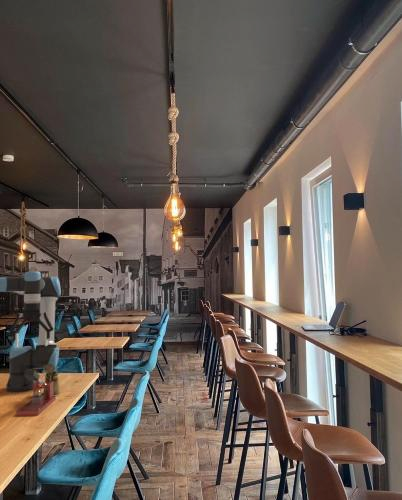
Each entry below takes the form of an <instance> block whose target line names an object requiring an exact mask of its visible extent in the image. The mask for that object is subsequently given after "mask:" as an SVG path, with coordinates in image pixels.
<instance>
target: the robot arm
mask: <svg viewBox="0 0 402 500" xmlns="http://www.w3.org/2000/svg"><path fill="white" fill-rule="evenodd" d="M41 275H42V274H41V272H40V271H36V270H35V271H33V270H32V271H31V270H30V271H26V272H25V273H24V276H2V277H1V276H0V293H1V292H3V293H9V292H10V293H17V295H18V294H19V295H21V296H23V302H24V304H23V313H21V312H18V313H16V316H15V319H14V321H13V323H12V325H11V327H10V329H9V331H8V333H11V334H13V335H12V337H13V338H12V339H13V341H15V347H14V348H13V349H11V350H10V353H9V358H8V359H9V377H8V380H7V382H6V386H5V391H7V392H9V393H10V392H13V393H14V392H15V393H16V392H17V393H18V392H23V391H29V390H32V389H33V384H34V383H35V382H34V381H30V380H28V379H27V378H26V377H25V376H24V373H25V370H40V369H41V370H42V369H43V370H44V368H43V367H44V366H45V365H46V364H48V363H49V364H52V365H54V366H55V368H56V367H57V364H58V361H59V356H60V347H57V346H58V345H57V343H56V342H55V327H56V326H55V325H56V324H55V323H56V322H55V321H56V320H55V319H56V301H58V299H59V297H60V296H61V295H62V290H61V283H60V280H59V277H57V276H41ZM22 317H23V318H24V319H23V320H22V321H21V323H20V324H19V323H18V322H19V321H20V319H21V318H22ZM31 322H33V323H35V322H37V323H38V324H39V325H38V327H39V329H38V342H37V343H36V344H35V348H32V346H31V345H26V346H20V347H19V333H18V332H19V331H20V330H21V328H22V327H23V326H24V325H25V324H26V323H31ZM16 326H17V327H16Z"/></svg>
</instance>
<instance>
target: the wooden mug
mask: <svg viewBox="0 0 402 500" xmlns="http://www.w3.org/2000/svg"><path fill="white" fill-rule="evenodd" d="M43 368H44V369H43V371H44V372H45V378H44V379H45V380H44V383H45V384H46V383H47V382H49V381H53V396H57V395H59V394H60V393H61V390H60V384H59V383H60V382H59V373H58V371H56V367H55V366H54V365H52V364H49V363H48V364H46V365H45V366H44V367H43ZM42 395H43V396H46V389H43V392H42Z"/></svg>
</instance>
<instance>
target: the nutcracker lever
mask: <svg viewBox="0 0 402 500" xmlns="http://www.w3.org/2000/svg"><path fill="white" fill-rule="evenodd" d="M24 376H25V377H26V378H27V379H28V380H30V381H34V383H36V384H37V385H38V386H39V387H40V389H41V390H42V389H43V390H44V389H46V384H45V381H43V380H42V379H41V378H40V374H39V373H38V372H37V371H36V369H31V370H25V373H24Z"/></svg>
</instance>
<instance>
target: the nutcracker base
mask: <svg viewBox="0 0 402 500" xmlns="http://www.w3.org/2000/svg"><path fill="white" fill-rule="evenodd" d="M32 389H33V391H32V392H33V394H32V395H33V396H32V397H31V399H30V400H29V401H28V402H26V404H24V405H23V406H21V407H20V408H19V409H18V410H16V415H15V416H16V417H17V416H18V417H21V416H22V417H24V416H25V417H27V416H31V417H33V416H34V417H35V416H39V415H40V414H41V413H43V412H44V411H45V410H46V409H47V408H48V407H49V406H50V405H51V404H53V403H54V402H55V401H56V399H57V395H53V381H49V382H47V383H46V395H43V394H42V389H40V387H39V386H38V385H37V384H36V383H35V382H34V384H33V388H32Z"/></svg>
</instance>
